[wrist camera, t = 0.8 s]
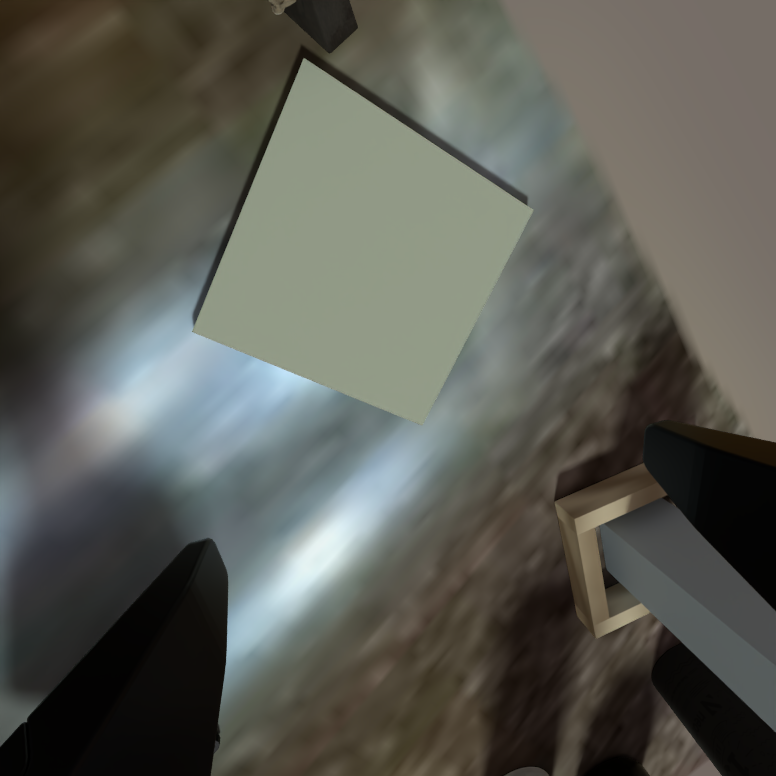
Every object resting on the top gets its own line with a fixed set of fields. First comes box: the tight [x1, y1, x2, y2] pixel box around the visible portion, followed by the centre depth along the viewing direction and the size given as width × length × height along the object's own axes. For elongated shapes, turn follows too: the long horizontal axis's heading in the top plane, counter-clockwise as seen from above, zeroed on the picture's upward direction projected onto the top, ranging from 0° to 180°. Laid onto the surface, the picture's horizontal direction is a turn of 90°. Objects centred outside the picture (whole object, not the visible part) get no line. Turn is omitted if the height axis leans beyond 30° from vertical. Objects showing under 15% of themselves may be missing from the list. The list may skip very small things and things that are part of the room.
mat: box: [192, 58, 534, 425], centre depth 21 cm, size 12×12×1 cm
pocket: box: [555, 463, 667, 639], centre depth 30 cm, size 10×10×2 cm
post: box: [600, 498, 776, 732], centre depth 24 cm, size 4×4×13 cm
